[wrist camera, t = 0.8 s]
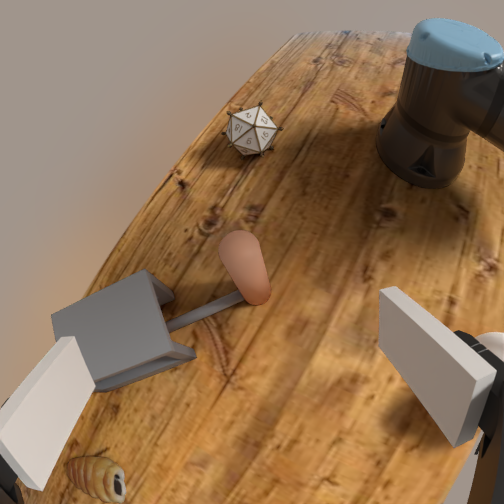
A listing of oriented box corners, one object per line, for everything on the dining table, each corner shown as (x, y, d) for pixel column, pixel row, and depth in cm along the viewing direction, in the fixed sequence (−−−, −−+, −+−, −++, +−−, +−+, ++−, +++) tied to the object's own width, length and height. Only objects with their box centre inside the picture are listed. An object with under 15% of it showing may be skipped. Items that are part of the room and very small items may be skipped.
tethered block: (261, 267, 41) (246, 217, 29) (278, 302, 39) (270, 264, 27) (122, 330, 40) (63, 305, 28) (133, 364, 38) (73, 351, 26)
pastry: (75, 487, 31) (60, 492, 28) (71, 447, 34) (55, 449, 31) (130, 502, 30) (116, 510, 27) (126, 459, 33) (111, 464, 30)
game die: (245, 165, 52) (199, 132, 46) (274, 125, 51) (231, 88, 45) (273, 178, 45) (220, 138, 39) (305, 132, 44) (258, 88, 38)
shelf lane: (172, 291, 41) (144, 268, 34) (197, 358, 37) (171, 350, 30) (88, 329, 41) (51, 314, 33) (106, 392, 37) (67, 390, 29)
